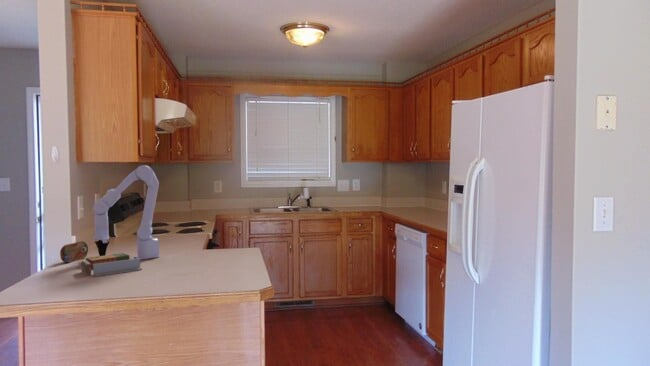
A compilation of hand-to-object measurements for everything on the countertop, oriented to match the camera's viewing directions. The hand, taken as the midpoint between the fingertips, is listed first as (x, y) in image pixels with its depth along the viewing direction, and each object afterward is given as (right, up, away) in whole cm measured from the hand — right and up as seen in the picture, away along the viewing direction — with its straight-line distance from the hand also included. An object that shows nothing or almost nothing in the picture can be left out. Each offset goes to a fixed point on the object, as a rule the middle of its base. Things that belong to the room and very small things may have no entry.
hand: (102, 256), depth 211 cm
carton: (+7, -3, -9) cm, 12 cm away
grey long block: (+18, -3, -23) cm, 29 cm away
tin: (-13, -2, -1) cm, 13 cm away
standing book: (+6, -3, -25) cm, 26 cm away
